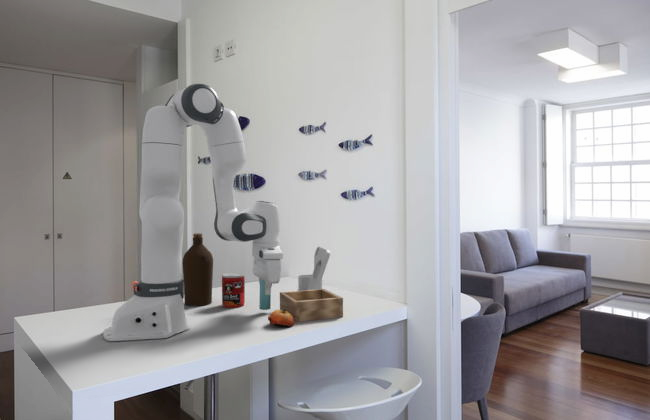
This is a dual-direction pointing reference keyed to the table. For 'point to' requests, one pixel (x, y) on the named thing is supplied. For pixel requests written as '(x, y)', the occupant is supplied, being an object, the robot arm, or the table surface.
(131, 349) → the table surface
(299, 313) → the box
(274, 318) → the tomato
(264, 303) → the peg
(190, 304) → the olive oil
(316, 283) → the phone holder
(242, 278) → the canned food
